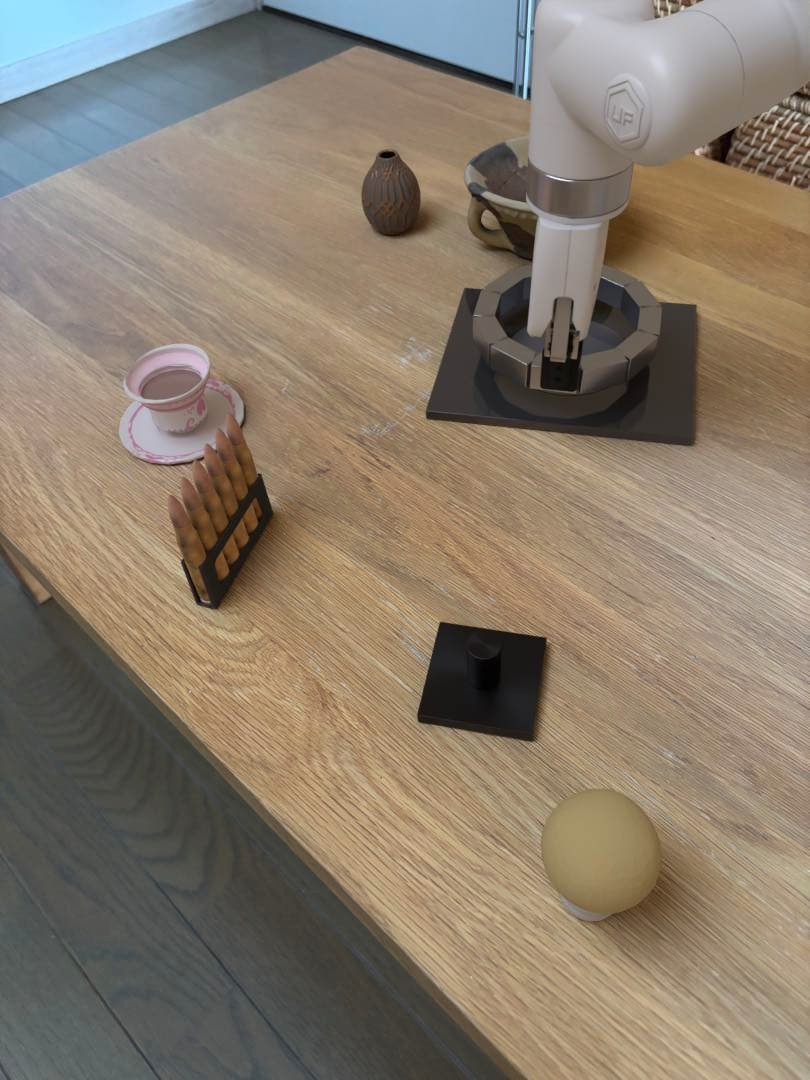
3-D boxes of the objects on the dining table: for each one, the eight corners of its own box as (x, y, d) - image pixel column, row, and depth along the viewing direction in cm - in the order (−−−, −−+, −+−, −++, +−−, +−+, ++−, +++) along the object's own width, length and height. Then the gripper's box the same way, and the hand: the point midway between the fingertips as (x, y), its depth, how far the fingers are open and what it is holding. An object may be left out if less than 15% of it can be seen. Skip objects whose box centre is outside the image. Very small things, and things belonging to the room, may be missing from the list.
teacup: (207, 478, 78) (189, 426, 73) (95, 452, 81) (72, 401, 76) (266, 393, 85) (253, 342, 80) (161, 373, 88) (143, 322, 83)
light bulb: (569, 968, 50) (585, 913, 42) (516, 866, 54) (522, 799, 46) (663, 919, 51) (695, 857, 43) (605, 824, 55) (625, 752, 47)
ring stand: (546, 644, 64) (550, 605, 60) (531, 741, 59) (535, 705, 55) (440, 628, 65) (437, 589, 62) (417, 722, 60) (413, 685, 57)
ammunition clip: (255, 508, 75) (223, 402, 66) (274, 513, 74) (245, 407, 65) (195, 604, 68) (151, 502, 59) (216, 610, 68) (174, 507, 59)
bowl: (616, 203, 103) (626, 122, 96) (625, 289, 92) (638, 205, 85) (469, 204, 105) (468, 125, 98) (460, 289, 94) (458, 207, 87)
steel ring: (459, 380, 79) (459, 357, 77) (492, 275, 89) (493, 253, 87) (650, 403, 75) (655, 379, 73) (661, 291, 86) (666, 268, 84)
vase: (422, 240, 101) (417, 167, 94) (363, 243, 101) (355, 170, 95) (422, 209, 105) (418, 137, 99) (366, 212, 106) (358, 141, 99)
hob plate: (694, 312, 89) (696, 303, 88) (691, 446, 76) (693, 437, 75) (464, 295, 93) (464, 286, 92) (426, 418, 81) (425, 410, 80)
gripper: (540, 127, 68) (529, 321, 83) (511, 235, 59) (504, 434, 73) (637, 131, 67) (609, 327, 81) (624, 242, 57) (594, 444, 71)
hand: (560, 376), depth 77 cm, fingers closed on steel ring, 2 cm apart
